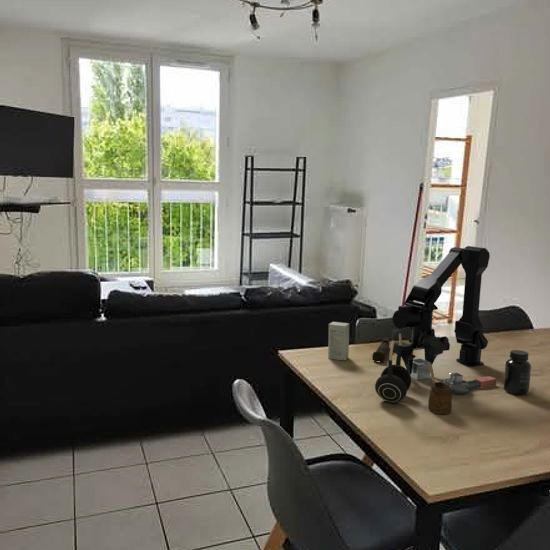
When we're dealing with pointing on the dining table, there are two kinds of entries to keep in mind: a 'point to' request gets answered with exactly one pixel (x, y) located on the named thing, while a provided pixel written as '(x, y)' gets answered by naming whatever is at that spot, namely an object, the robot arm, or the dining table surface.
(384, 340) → the hand tool
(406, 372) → the headphones
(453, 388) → the ratchet
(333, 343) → the skincare box
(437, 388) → the utensil holder
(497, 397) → the dining table surface
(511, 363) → the supplement bottle
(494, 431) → the dining table surface
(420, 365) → the square hollow container
